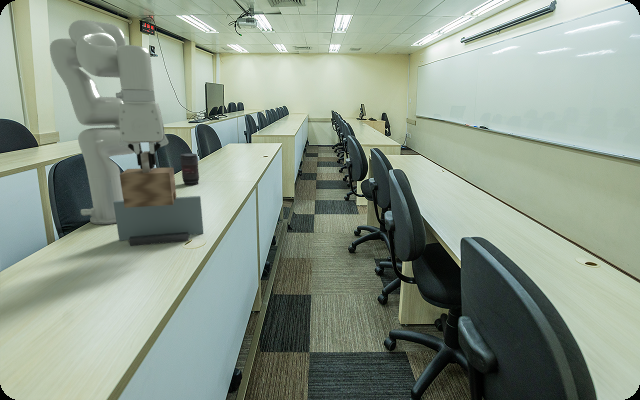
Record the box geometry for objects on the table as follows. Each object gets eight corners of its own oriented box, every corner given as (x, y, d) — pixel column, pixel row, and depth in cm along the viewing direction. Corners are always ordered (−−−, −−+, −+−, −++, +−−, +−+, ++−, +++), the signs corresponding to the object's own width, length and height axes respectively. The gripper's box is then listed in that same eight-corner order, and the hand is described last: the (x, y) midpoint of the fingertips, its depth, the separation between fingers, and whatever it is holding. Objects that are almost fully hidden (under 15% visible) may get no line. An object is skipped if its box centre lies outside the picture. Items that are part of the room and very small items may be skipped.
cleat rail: (129, 246, 102) (128, 239, 101) (131, 243, 104) (130, 236, 103) (188, 240, 106) (187, 234, 105) (189, 238, 108) (188, 231, 107)
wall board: (119, 240, 106) (113, 202, 102) (120, 238, 107) (114, 200, 104) (203, 233, 112) (200, 197, 108) (203, 231, 113) (200, 195, 110)
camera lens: (185, 186, 173) (182, 156, 169) (181, 183, 179) (178, 154, 175) (201, 184, 177) (199, 154, 173) (197, 181, 183) (194, 152, 179)
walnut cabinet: (124, 207, 93) (116, 155, 90) (131, 200, 101) (124, 151, 97) (172, 205, 96) (167, 154, 93) (176, 197, 104) (171, 150, 100)
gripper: (100, 97, 86) (111, 171, 91) (169, 98, 90) (176, 169, 95) (109, 97, 93) (119, 166, 98) (173, 98, 96) (179, 164, 102)
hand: (147, 167), depth 96 cm, fingers closed on walnut cabinet, 1 cm apart
